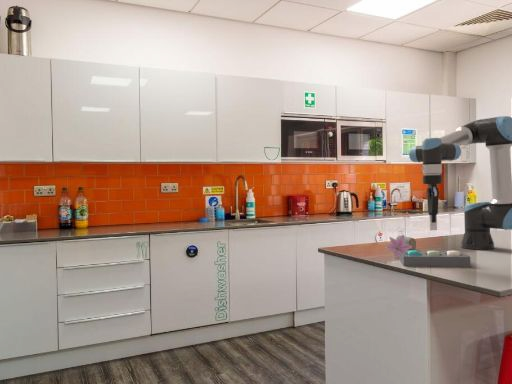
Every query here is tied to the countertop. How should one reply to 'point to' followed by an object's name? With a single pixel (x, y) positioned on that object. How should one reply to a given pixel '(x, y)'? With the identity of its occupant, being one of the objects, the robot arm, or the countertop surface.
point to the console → (435, 260)
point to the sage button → (433, 252)
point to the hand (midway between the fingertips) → (433, 229)
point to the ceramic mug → (409, 242)
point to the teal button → (413, 252)
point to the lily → (398, 246)
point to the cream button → (453, 253)
